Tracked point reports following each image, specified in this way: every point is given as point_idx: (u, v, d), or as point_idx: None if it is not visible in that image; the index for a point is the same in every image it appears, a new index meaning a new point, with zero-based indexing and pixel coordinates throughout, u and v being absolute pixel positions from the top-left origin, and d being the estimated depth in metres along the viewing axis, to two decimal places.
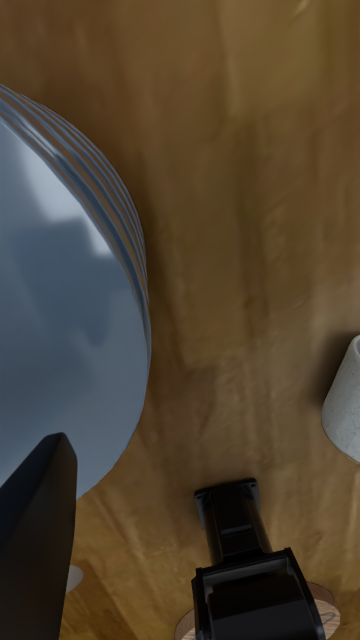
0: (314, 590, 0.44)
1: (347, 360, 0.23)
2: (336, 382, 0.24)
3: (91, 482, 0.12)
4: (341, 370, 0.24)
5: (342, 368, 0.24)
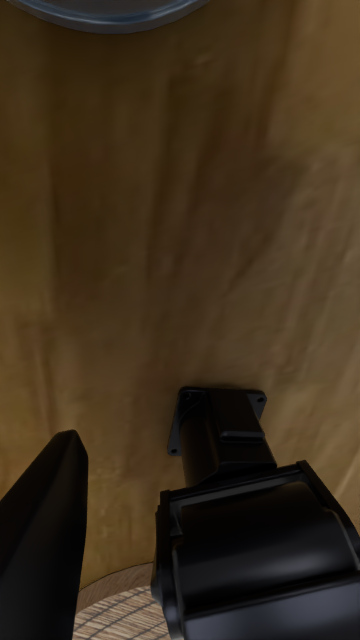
0: None
1: None
2: None
3: None
4: None
5: None
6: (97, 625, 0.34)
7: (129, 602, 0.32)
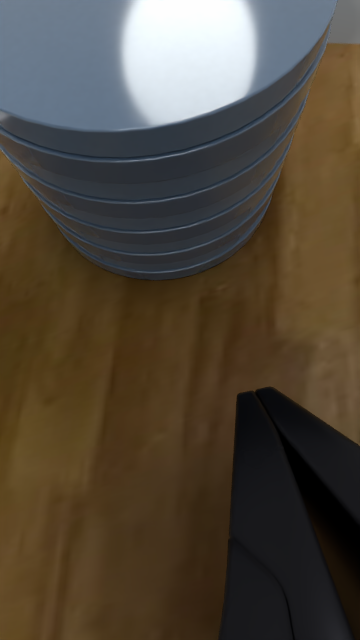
0: None
1: None
2: None
3: (238, 95, 0.11)
4: None
5: None
6: None
7: None
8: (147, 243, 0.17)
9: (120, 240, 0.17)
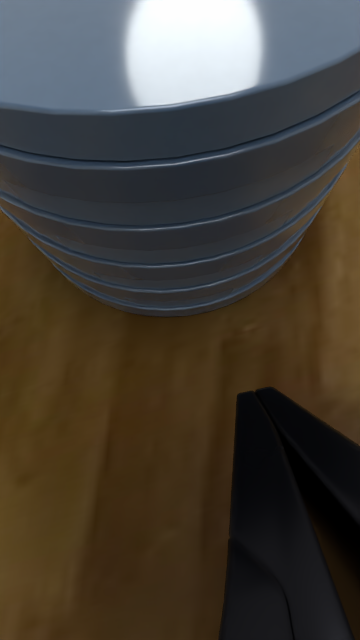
0: None
1: None
2: None
3: (332, 51, 0.06)
4: None
5: None
6: None
7: None
8: (156, 279, 0.12)
9: (119, 275, 0.12)
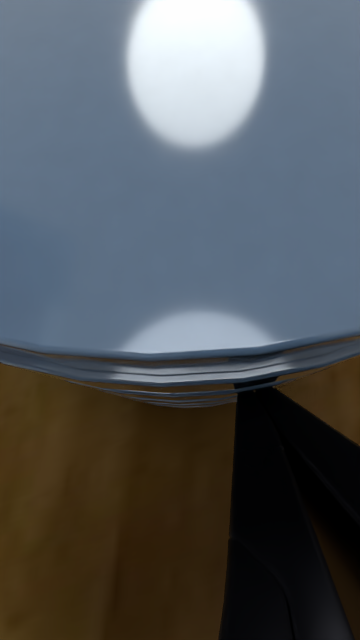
0: None
1: None
2: None
3: None
4: None
5: None
6: None
7: None
8: None
9: None
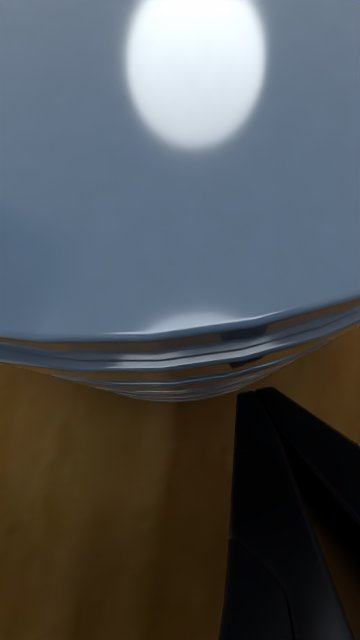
0: None
1: None
2: None
3: None
4: None
5: None
6: None
7: None
8: (180, 396, 0.10)
9: (133, 394, 0.10)
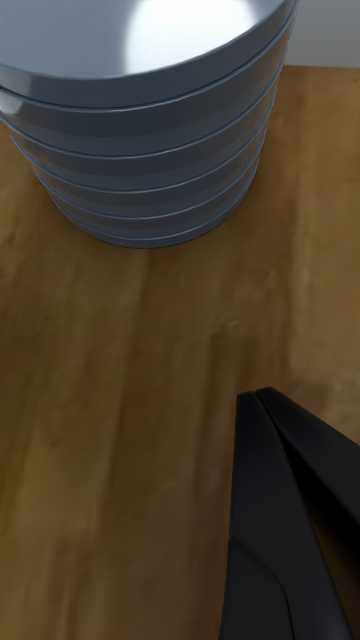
0: None
1: None
2: None
3: (223, 40, 0.12)
4: None
5: None
6: None
7: None
8: (144, 204, 0.18)
9: (118, 202, 0.18)
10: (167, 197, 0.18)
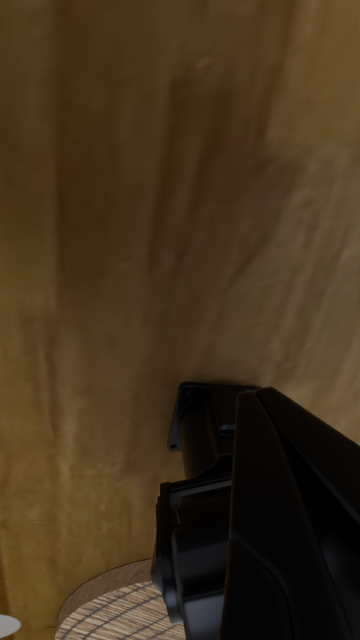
0: None
1: None
2: None
3: None
4: None
5: None
6: (97, 621, 0.34)
7: (128, 598, 0.32)
8: None
9: None
10: None
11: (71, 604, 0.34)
